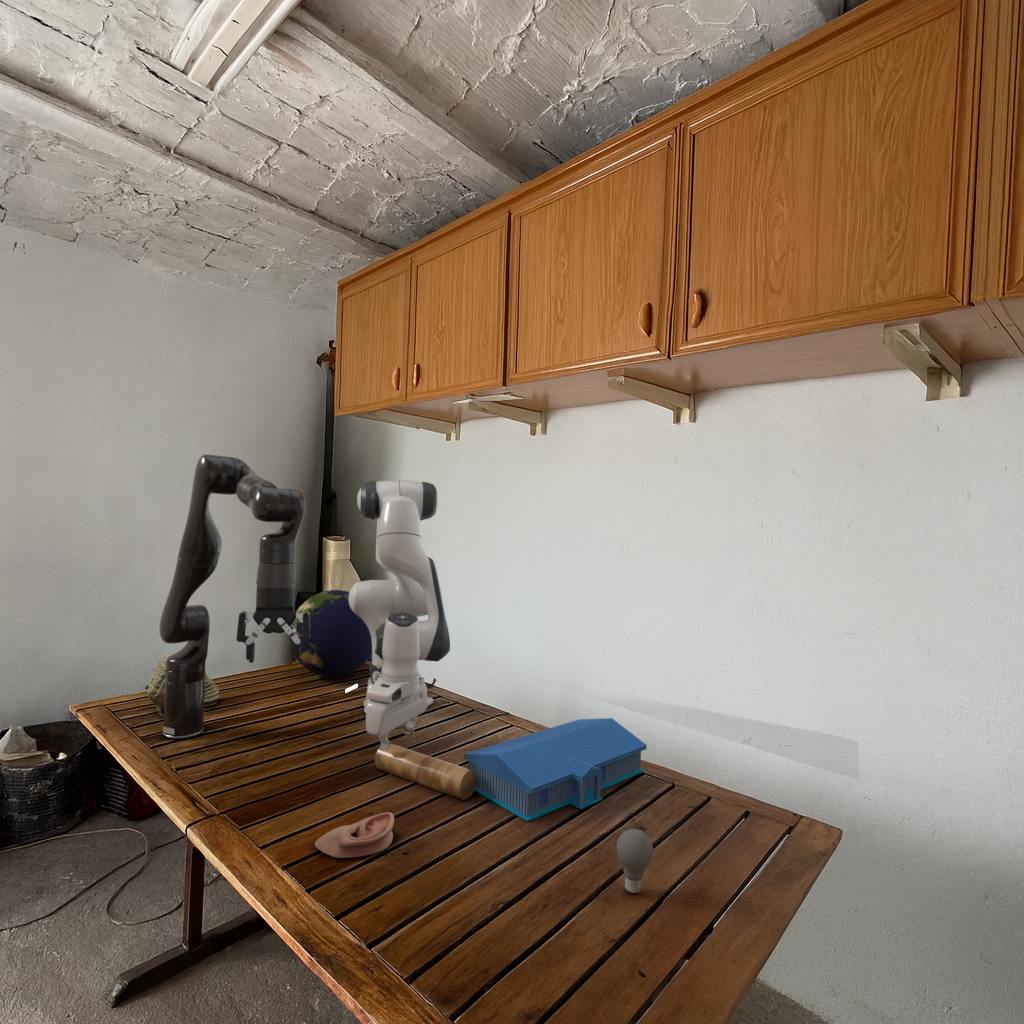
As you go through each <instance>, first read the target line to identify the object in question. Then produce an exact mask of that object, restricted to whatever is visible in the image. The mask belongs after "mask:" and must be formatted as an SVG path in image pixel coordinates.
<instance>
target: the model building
mask: <svg viewBox="0 0 1024 1024" xmlns="http://www.w3.org/2000/svg"><path fill="white" fill-rule="evenodd" d="M647 745H648V744H646V742H643V740H641V739H640V738H638V737H637V736H636V735H634V734H633V733H632V732H630V730H628V729H627V728H626V727H624V726H623V725H622V724H621V723H619V722H618V721H616V720H615V719H614V718H612V717H609V718H607V717H606V718H605V717H604V718H580V719H576V720H572V721H570V722H566V723H562V724H560V725H556V726H552V727H550V728H546V729H543V730H539V731H536V732H532V733H529V734H526V735H523V736H519V737H516V738H513V739H510V740H505V741H503V742H499V743H496V744H492V745H489V746H486V747H482V748H479V749H475V750H473V751H470V752H469V751H468V752H465V753H464V754H463V759H464V760H466V761H467V769H470V770H473V771H474V772H475V774H476V786H475V789H474V791H473V792H476V793H478V794H479V795H481V796H483V797H485V798H486V799H488V800H490V801H491V802H493V803H495V804H496V805H498V806H500V807H502V808H503V809H505V810H507V811H508V812H510V813H512V814H513V815H515V816H517V817H518V818H520V819H522V820H524V821H525V822H530V821H532V820H536V819H537V818H540V817H541V816H544V815H547V814H549V813H551V812H553V811H556V810H559V809H560V808H562V807H565V806H567V805H571V806H573V807H575V808H577V809H579V810H583V809H585V808H587V807H590V806H592V805H594V804H596V803H599V802H601V801H603V797H602V796H601V792H602V790H605V789H607V788H610V787H612V786H614V785H616V784H618V783H621V782H623V781H626V780H629V779H631V778H632V777H635V776H637V775H639V774H641V773H645V770H644V769H643V768H641V760H642V752H643V751H645V750H647Z"/></svg>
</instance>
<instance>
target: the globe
mask: <svg viewBox="0 0 1024 1024" xmlns="http://www.w3.org/2000/svg"><path fill="white" fill-rule="evenodd" d="M349 593H350V591H348V590H344V589H328V590H324V591H321V592H319V593H316V594H313V596H311V597H309V598H308V599H306V600H305V601H304V602H302V604H300V606H298V609H297V610H296V611H295V612H296V613H301V612H305V611H309V612H310V639H309V640H308V641H305V642H302V643H301V655H300V658H299V659H297V662H298V663H299V664H300V665H301V666H302V667H304V668H305V669H306V670H307V671H308V672H311V673H313V674H315V675H317V676H321V677H325V678H337V677H343V676H347V675H349V674H352V673H353V672H355V671H357V670H358V669H360V668H361V667H362V666H364V664H366V663H367V662H368V660H369V659H371V657H372V640H371V635H370V632H369V629H368V627H367V626H366V624H365V623H364V621H363V620H362V619H361V618H360V617H359V616H357V615H356V614H355V613H354V612H353V611H352V610H351V608H350V605H349V601H348V597H349ZM292 625H293V627H294V628H295V629H296V631H297V633H298V634H299V635H300V636H301V635H303V623H301V622H300V621H299V619H298V618H296V619H295V620H294V621H293V623H292ZM289 644H290V647H291V650H292V651H291V652H293V645H294V641H293V640H292V639H291V638H290V637H289Z"/></svg>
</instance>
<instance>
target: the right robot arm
mask: <svg viewBox="0 0 1024 1024" xmlns="http://www.w3.org/2000/svg"><path fill="white" fill-rule="evenodd" d="M437 490H438V489H437V487H436V486H435V485H434V484H433V483H431V482H428V481H422V482H421V481H415V480H407V479H406V480H405V479H399V480H379V481H376V480H369V481H365V482H363V483H362V484H361V485H360V488H359V490H358V492H357V496H356V503H357V507H358V510H359V511H360V512H359V513H360V514H361V515H362V516H363V517H364V518H367V519H369V520H372V521H375V519H377V524H376V533H375V535H376V537H375V540H376V541H375V561H376V563H377V565H379V566H380V567H381V568H383V569H384V570H385V571H388V572H390V573H391V574H393V575H394V576H395V578H396V579H368V580H362V581H357V582H355V584H353V585H352V586H351V588H350V590H349V592H350V593H349V597H348V601H349V605H350V608H351V610H352V611H353V612H354V613H355V614H356V615H357V616H359V617H360V618H361V619H362V620H363V621H364V623H365V624H366V626H367V627H368V629H369V632H370V635H371V640H372V655H371V662H370V664H369V676H370V677H369V678H368V681H367V688H366V695H365V700H363V704H362V705H363V706H364V709H363V712H364V713H365V730H366V731H365V732H366V733H367V734H368V735H370V736H373V737H377V738H378V740H379V742H380V746H381V749H382V750H388V749H389V748H390V747H391V744H392V740H389V738H388V737H389V735H390V732H391V731H393V730H395V729H397V728H399V727H400V726H402V725H404V724H405V723H406V726H405V727H404V730H403V731H404V732H403V735H404V736H405V737H411V736H413V735H414V734H415V726H416V724H417V721H418V716H420V715H422V714H424V713H425V712H427V708H428V707H430V706H431V704H433V703H434V699H433V698H432V697H430V696H428V687H433V686H434V685H435V684H436V682H437V679H436V678H433V680H432V683H427V684H425V683H426V681H425V680H426V679H425V678H424V676H423V675H422V674H420V667H419V661H426V662H436V663H437V662H440V661H441V660H442V659H444V658H445V657H446V656H447V655H448V654H449V653H450V650H451V644H452V639H451V638H452V637H451V633H450V629H449V627H448V623H447V619H446V614H445V613H446V612H445V607H444V602H443V595H442V591H441V585H440V580H439V575H438V570H437V567H436V564H435V562H434V559H433V558H431V557H430V556H428V555H427V554H426V551H425V550H424V547H423V544H422V524H421V522H422V521H424V520H425V521H426V520H429V519H432V518H433V517H434V516H435V515H436V514H437V511H438V508H439V505H440V496H439V493H438V491H437ZM423 616H427V617H428V618H427V619H425V620H419V617H423ZM358 685H359V684H358V683H356V684H354V685H352V686H350V687H348V688H346V689H345V693H348V692H350V691H352V690H354V689H357V688H358V687H359V686H358Z"/></svg>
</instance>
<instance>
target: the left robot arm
mask: <svg viewBox="0 0 1024 1024" xmlns="http://www.w3.org/2000/svg"><path fill="white" fill-rule="evenodd" d="M191 488H192V489H191V494H190V502H189V508H188V512H187V513H188V514H187V518H186V523H185V527H184V530H183V534H182V536H181V537H182V538H181V541H180V546H179V550H178V554H177V559H176V564H175V569H174V575H173V578H172V581H171V586H170V588H169V591H168V594H167V596H166V597H167V598H166V600H165V604H164V606H163V609H162V612H161V616H160V619H159V629H158V630H159V636H160V638H161V641H163V642H164V643H166V644H171V645H172V644H180V643H181V644H183V643H186V644H185V645H184V646H183V647H182V648H181V649H180V650H178V651H176V652H174V653H172V654H170V655H171V656H169V657H168V658H167V660H166V674H165V705H164V708H161V709H160V710H157V711H158V712H157V714H158V716H159V717H161V718H162V719H163V726H162V737H164V738H166V739H169V740H185V739H190V738H191V739H192V738H194V737H197V736H199V735H202V734H203V732H204V730H205V729H204V722H205V721H204V718H205V706H204V693H205V672H206V664H207V663H206V662H207V658H208V653H209V652H208V651H209V641H210V640H209V639H210V631H211V617H210V613H209V610H208V608H207V607H206V606H205V605H203V604H192V605H191V604H190V605H188V603H189V601H190V600H191V598H192V596H193V595H194V593H196V591H197V590H199V588H200V587H201V586H203V584H204V583H205V582H206V581H207V580H208V579H209V578H210V577H211V576H212V575H213V573H214V572H215V571H216V569H217V567H218V564H219V560H220V556H221V552H222V547H223V539H222V536H221V534H220V531H219V529H218V528H217V526H216V523H215V521H214V519H213V517H212V514H211V511H210V505H209V504H210V499H211V495H212V494H216V495H226V496H227V495H228V496H233V495H236V497H237V499H238V500H239V501H240V503H242V505H244V506H246V507H247V508H249V509H250V510H251V513H252V515H253V517H254V519H256V520H258V521H260V522H264V523H282V524H281V526H280V528H279V529H278V530H277V531H275V532H271V533H266V534H263V535H261V537H260V539H259V550H258V551H259V553H258V555H259V556H258V567H257V572H256V573H257V574H256V579H255V580H256V582H255V583H256V593H255V596H256V598H255V611H254V612H250V611H249V612H248V611H246V610H242V611H241V612H240V613H239V614H238V620H237V631H236V642H238V643H243V644H245V646H246V647H245V660H247V661H248V663H249V664H253V663H254V662H255V652H256V649H255V648H256V642H255V641H256V639H257V638H258V637H259V636H260V635H261V633H262V632H263V633H265V634H274V633H275V634H283V633H286V635H287V636H288V637H289V639H290V638H291V639H292V640H293V641H294V645H293V651H292V663H297V662H298V660H297V659H299V658H300V655H301V643H302V642H305V641H308V640H309V639H310V612H309V611H305V612H301V613H296V612H297V611H296V609H295V601H296V600H295V599H296V578H297V577H296V575H297V573H296V544H297V539H298V536H299V532H300V530H301V525H302V524H303V521H304V518H305V514H306V511H307V503H306V502H307V501H306V498H305V496H304V494H303V493H302V492H301V491H300V490H299V489H295V488H281V487H277V486H276V485H275V484H274V483H273V482H271V481H270V480H267V479H265V478H263V477H261V476H259V475H258V474H257V473H256V472H255V471H254V470H253V469H252V468H251V467H250V466H249V465H248V464H247V463H246V462H245V461H243V460H242V459H240V458H238V457H234V456H225V455H217V454H202V455H201V456H200V457H199V459H198V460H197V463H196V466H195V469H194V474H193V481H192V487H191ZM296 618H298V619H299V621H300V622H301V623H303V635H301V636H300V635H299V634H298V633H297V631H296V629H295V628H294V627H293V625H292V623H293V621H294V620H295V619H296ZM251 619H253V620H254V622H255V623H256V624H257V627H256V628H255V629H254V631H252V633H251V634H250V635H246V631H247V630H246V628H247V624H248V623H250V621H251ZM148 688H149V684H147V685H146V686H145V688H144V690H148Z"/></svg>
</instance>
